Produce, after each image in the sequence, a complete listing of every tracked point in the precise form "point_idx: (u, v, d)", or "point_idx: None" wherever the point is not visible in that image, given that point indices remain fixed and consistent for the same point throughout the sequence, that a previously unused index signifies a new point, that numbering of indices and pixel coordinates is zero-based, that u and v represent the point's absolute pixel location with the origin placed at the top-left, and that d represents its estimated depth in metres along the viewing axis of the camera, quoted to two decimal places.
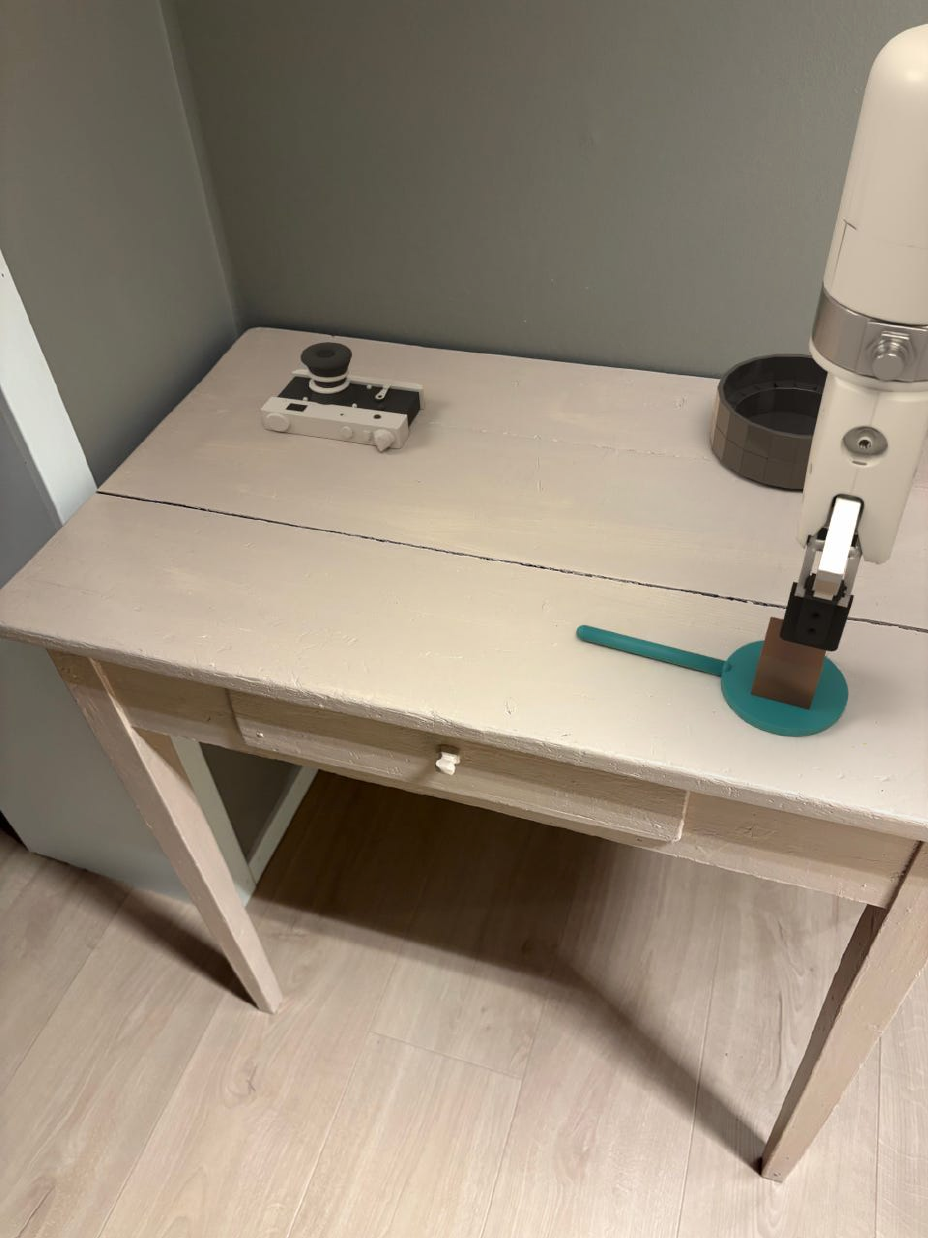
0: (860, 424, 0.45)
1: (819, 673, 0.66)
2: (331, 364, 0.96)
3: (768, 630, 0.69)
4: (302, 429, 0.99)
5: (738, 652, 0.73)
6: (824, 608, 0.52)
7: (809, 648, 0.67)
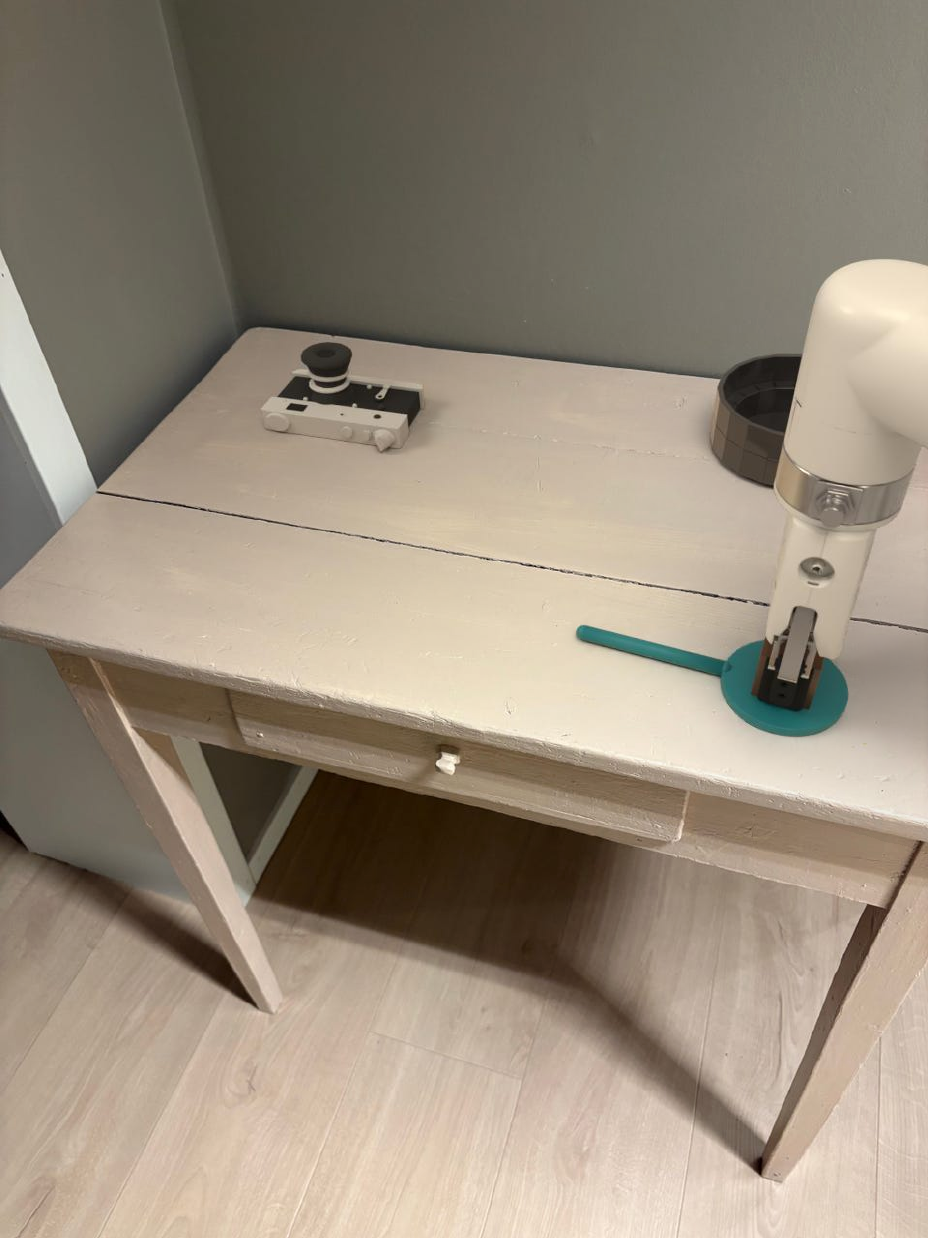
0: (812, 555, 0.57)
1: (819, 673, 0.66)
2: (331, 364, 0.96)
3: None
4: (302, 429, 0.99)
5: (738, 652, 0.73)
6: None
7: None
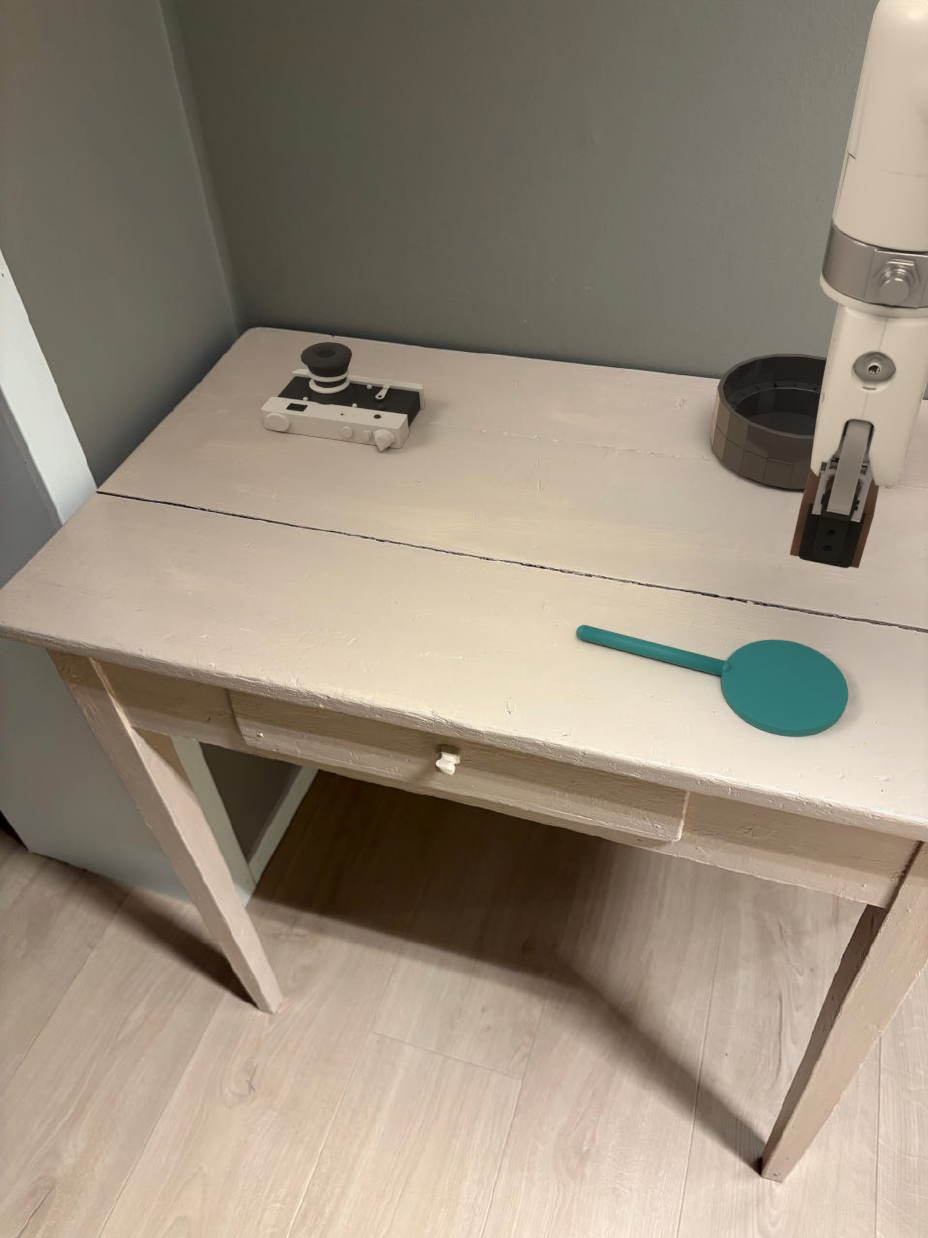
0: (869, 350, 0.48)
1: (871, 519, 0.57)
2: (331, 364, 0.96)
3: (809, 478, 0.60)
4: (302, 429, 0.99)
5: (738, 652, 0.73)
6: (838, 524, 0.57)
7: None
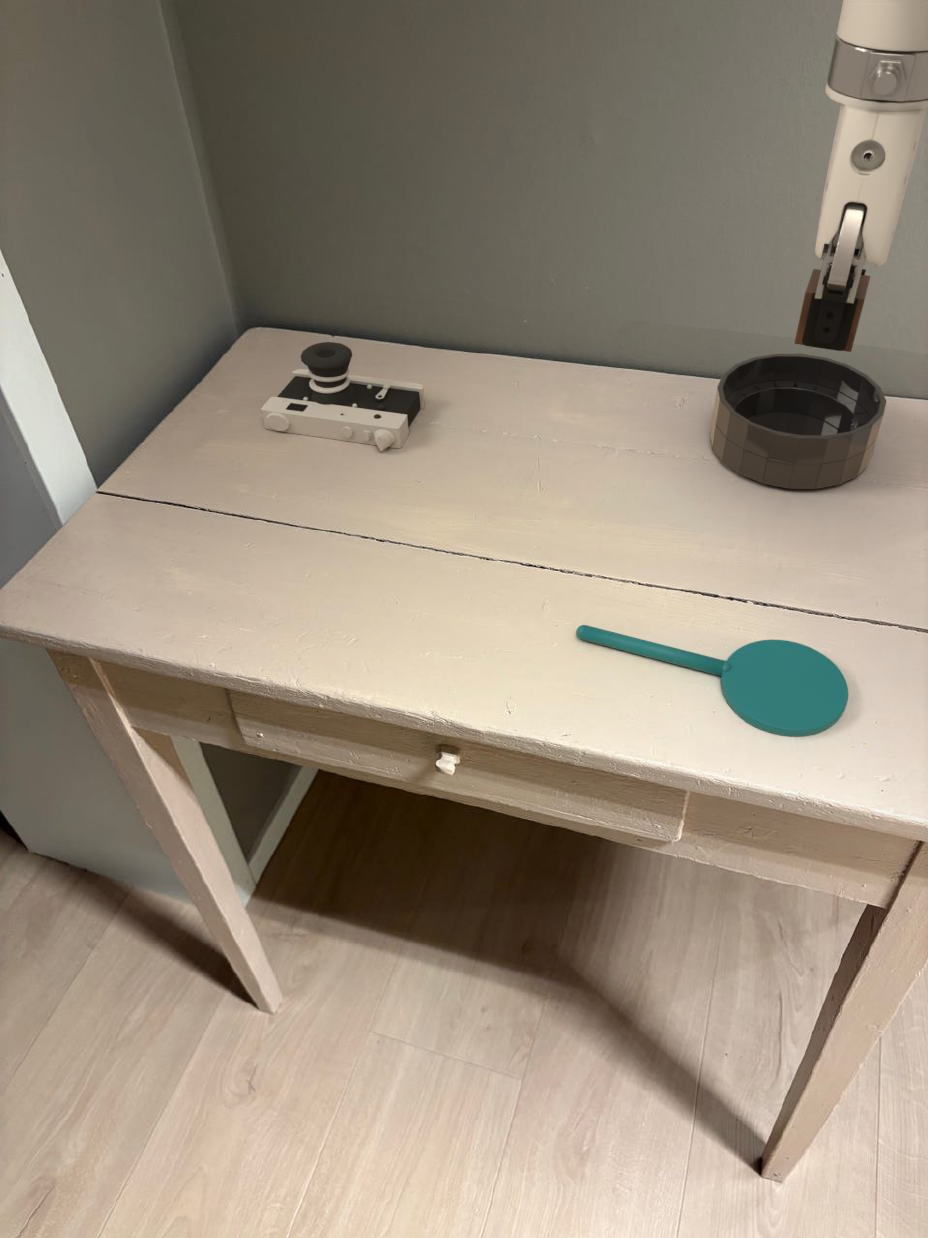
0: (864, 139, 0.61)
1: (862, 304, 0.70)
2: (331, 364, 0.96)
3: (811, 277, 0.73)
4: (302, 429, 0.99)
5: (738, 652, 0.73)
6: (836, 307, 0.70)
7: None
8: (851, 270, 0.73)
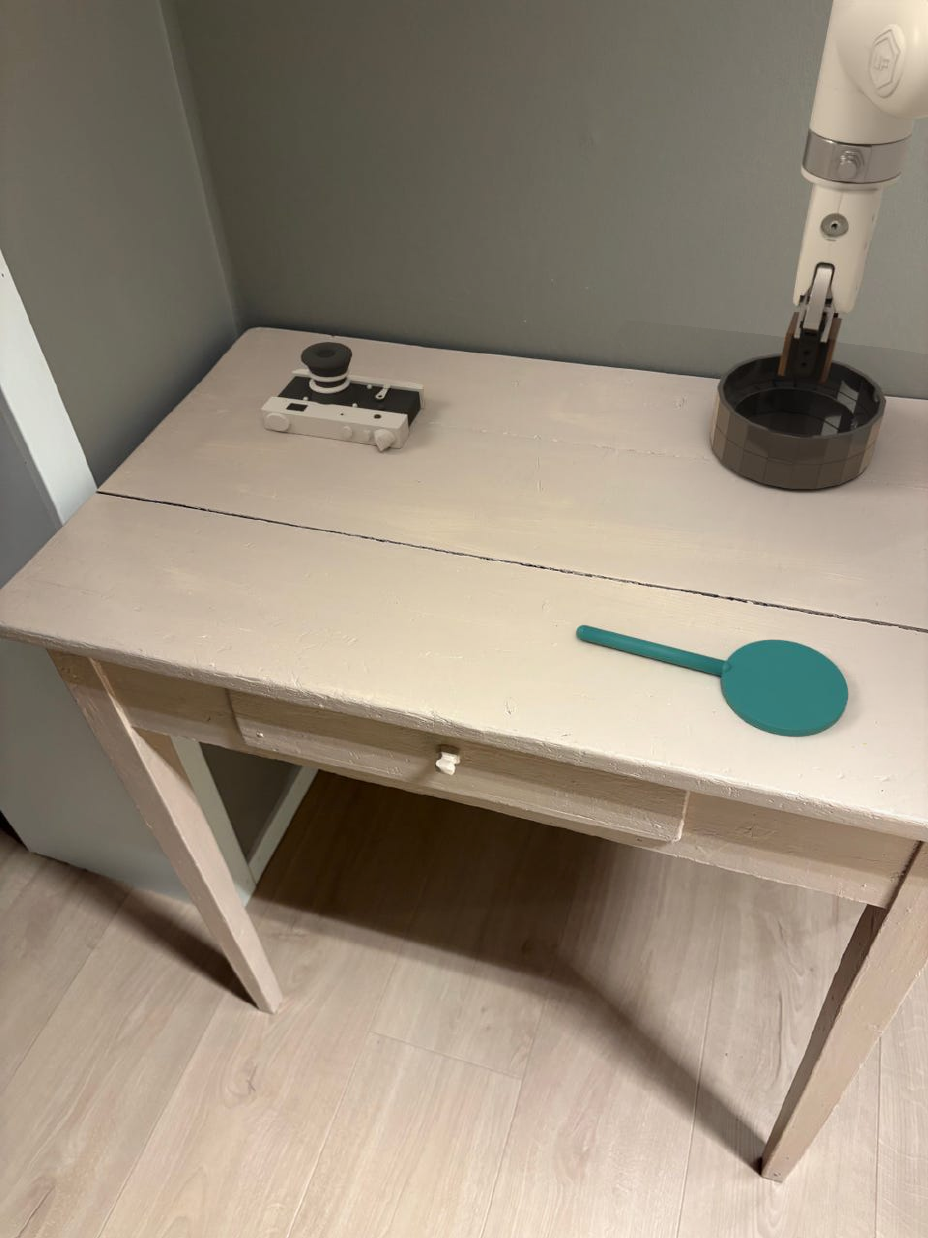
0: (831, 212, 0.74)
1: (833, 343, 0.83)
2: (331, 364, 0.96)
3: (792, 319, 0.86)
4: (302, 429, 0.99)
5: (738, 652, 0.73)
6: (812, 346, 0.83)
7: None
8: (826, 313, 0.86)
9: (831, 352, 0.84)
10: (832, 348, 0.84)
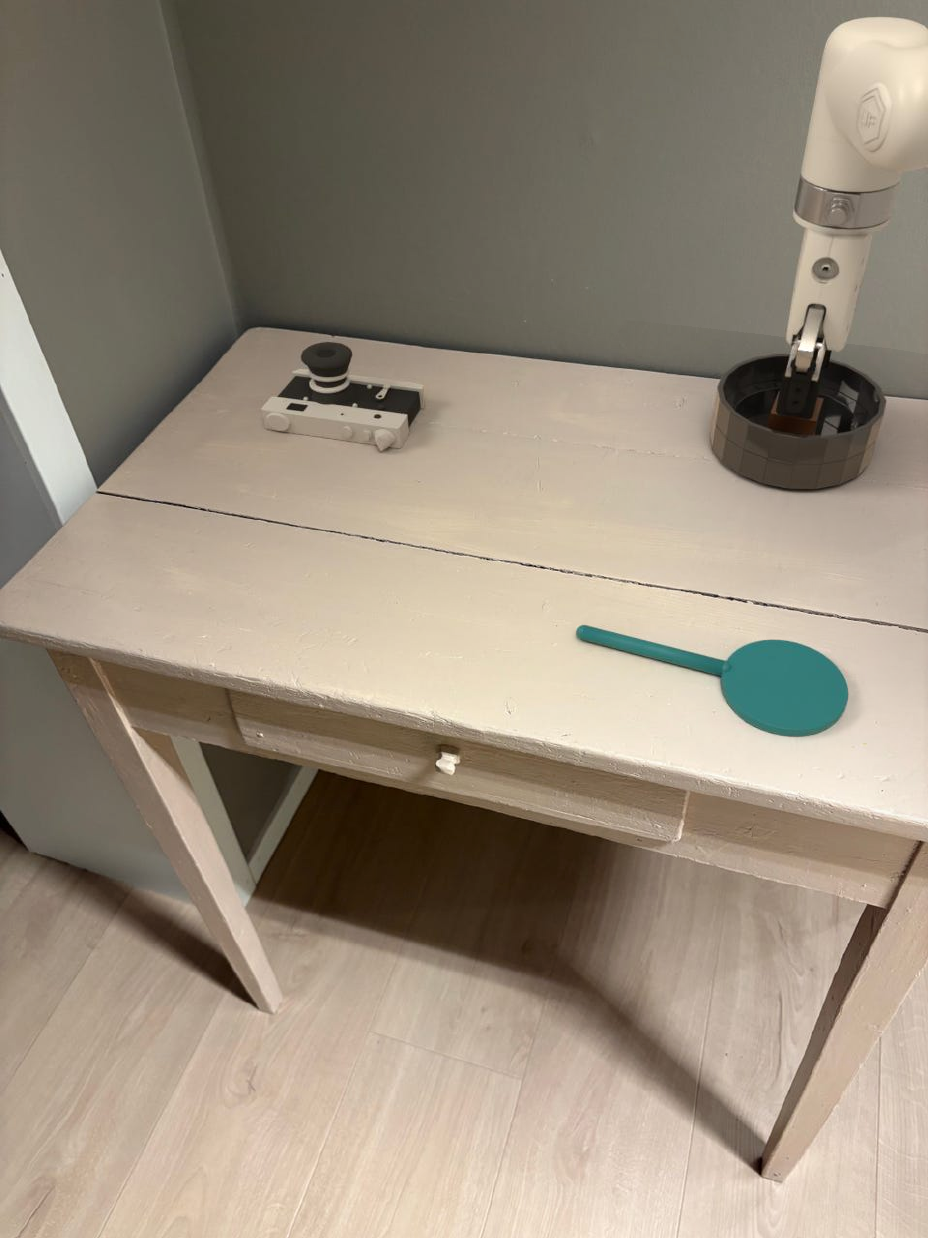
0: (822, 256, 0.76)
1: (814, 423, 0.89)
2: (331, 364, 0.96)
3: (776, 398, 0.91)
4: (302, 429, 0.99)
5: (738, 652, 0.73)
6: (803, 384, 0.83)
7: None
8: None
9: (812, 431, 0.89)
10: (813, 428, 0.89)
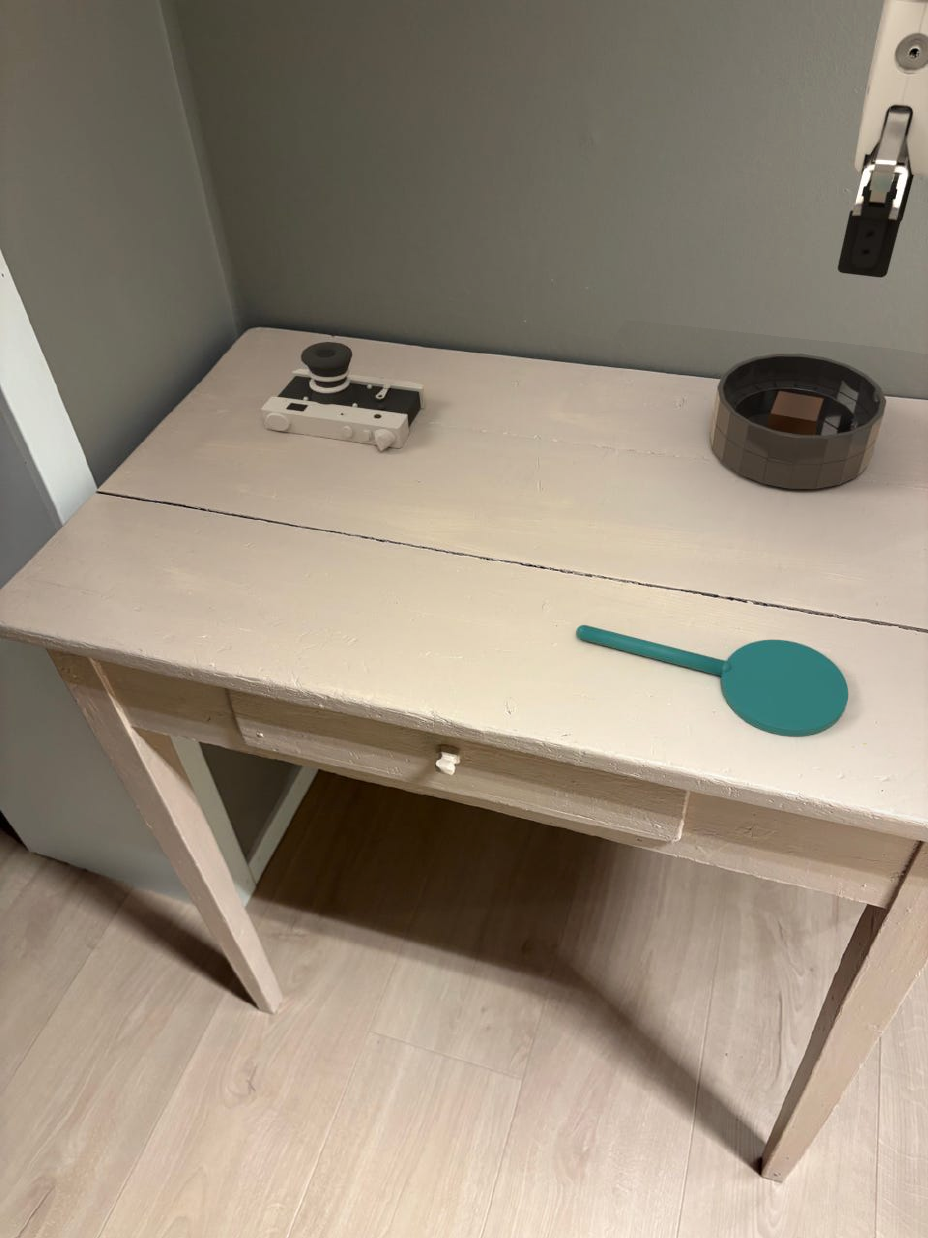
0: (911, 32, 0.56)
1: (814, 423, 0.89)
2: (331, 364, 0.96)
3: (776, 398, 0.91)
4: (302, 429, 0.99)
5: (738, 652, 0.73)
6: (877, 225, 0.62)
7: (808, 408, 0.90)
8: None
9: (812, 431, 0.89)
10: (813, 428, 0.89)
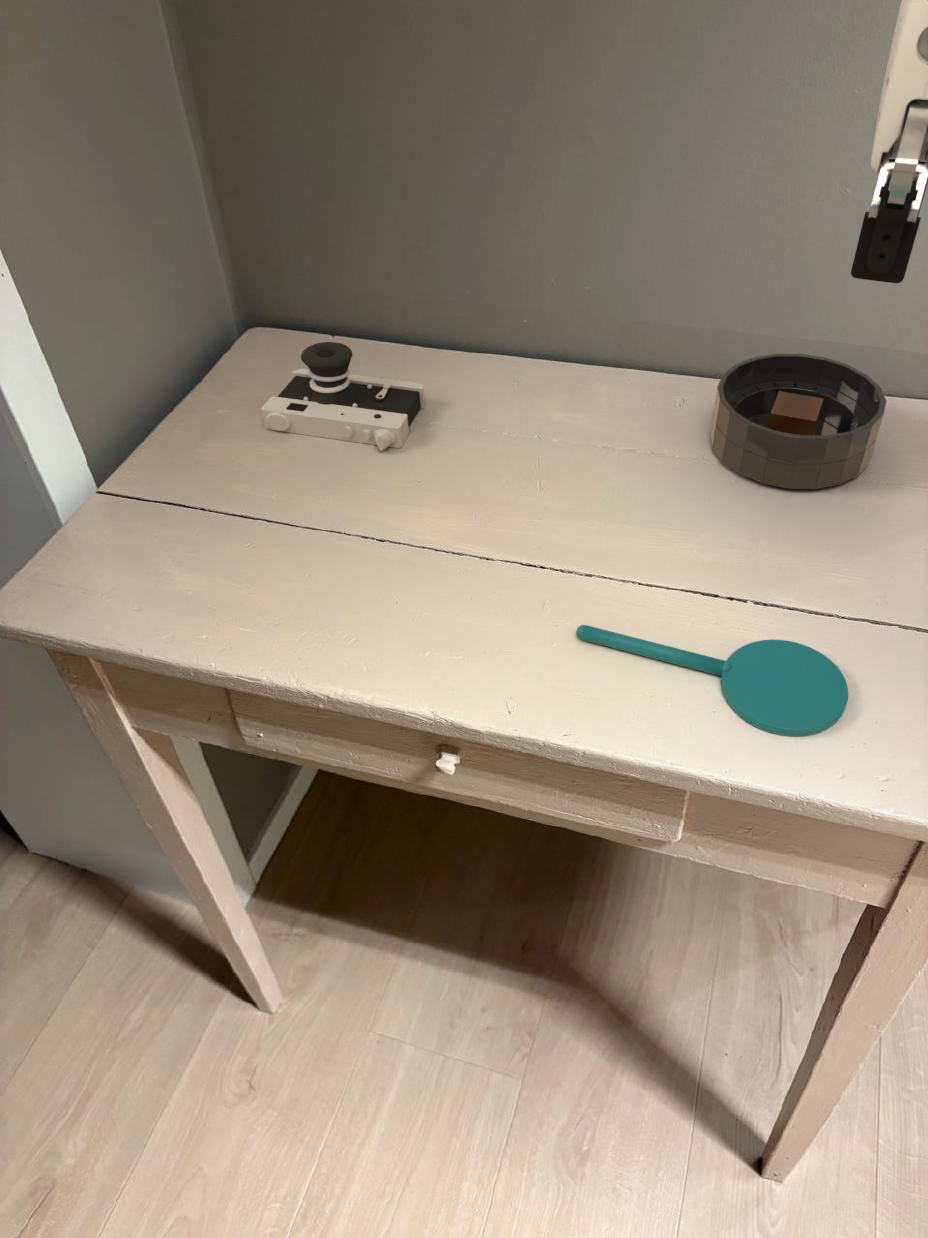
0: None
1: (814, 423, 0.89)
2: (331, 364, 0.96)
3: (776, 398, 0.91)
4: (302, 429, 0.99)
5: (738, 652, 0.73)
6: (894, 227, 0.58)
7: (808, 408, 0.90)
8: None
9: (812, 431, 0.89)
10: (813, 428, 0.89)
